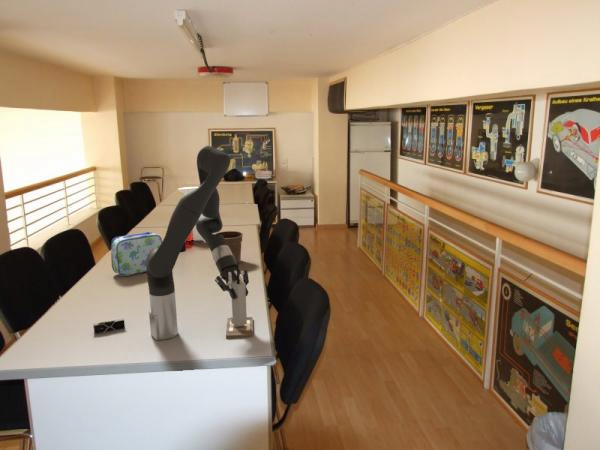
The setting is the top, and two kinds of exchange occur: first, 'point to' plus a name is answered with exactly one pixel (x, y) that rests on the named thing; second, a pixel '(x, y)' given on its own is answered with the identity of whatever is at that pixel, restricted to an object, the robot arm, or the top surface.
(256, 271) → the top surface
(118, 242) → the lunch box
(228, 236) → the plant pot
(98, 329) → the graphics card
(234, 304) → the vintage mobile phone
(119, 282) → the top surface
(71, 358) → the top surface
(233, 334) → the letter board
